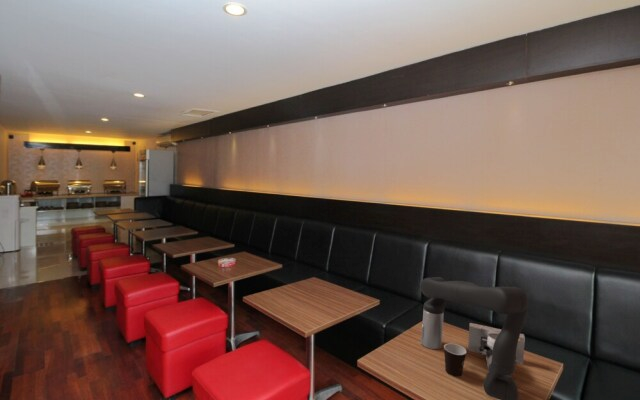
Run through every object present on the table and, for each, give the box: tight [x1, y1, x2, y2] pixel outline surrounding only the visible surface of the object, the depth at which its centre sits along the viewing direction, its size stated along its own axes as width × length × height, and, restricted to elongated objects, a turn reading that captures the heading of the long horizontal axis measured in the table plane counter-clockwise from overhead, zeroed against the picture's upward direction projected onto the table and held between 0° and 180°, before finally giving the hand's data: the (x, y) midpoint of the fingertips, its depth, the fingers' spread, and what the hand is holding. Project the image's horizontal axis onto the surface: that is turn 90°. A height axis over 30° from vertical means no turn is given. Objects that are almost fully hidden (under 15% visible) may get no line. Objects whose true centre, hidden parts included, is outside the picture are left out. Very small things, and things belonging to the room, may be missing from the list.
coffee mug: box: [443, 343, 467, 378], centre depth 130 cm, size 12×9×10 cm
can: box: [485, 333, 498, 362], centre depth 137 cm, size 6×6×12 cm
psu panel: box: [467, 322, 526, 365], centre depth 142 cm, size 22×4×12 cm, turn 63°
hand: (496, 344), depth 139 cm, fingers closed on can, 5 cm apart
